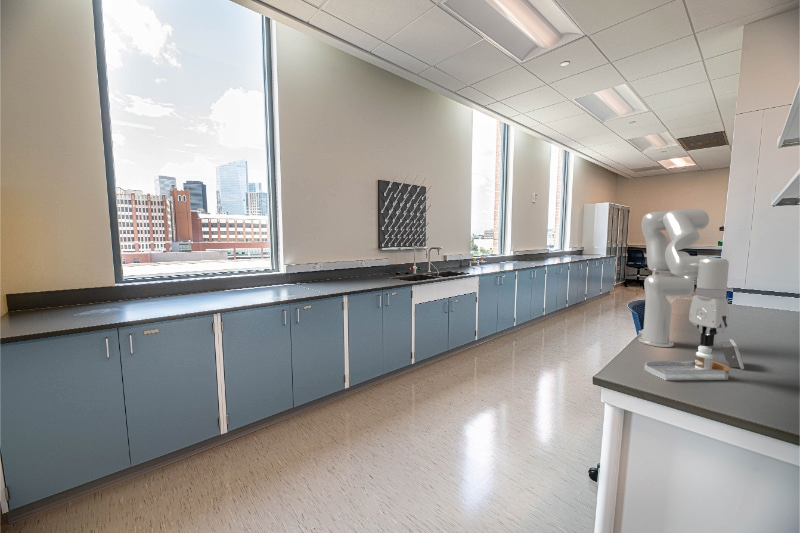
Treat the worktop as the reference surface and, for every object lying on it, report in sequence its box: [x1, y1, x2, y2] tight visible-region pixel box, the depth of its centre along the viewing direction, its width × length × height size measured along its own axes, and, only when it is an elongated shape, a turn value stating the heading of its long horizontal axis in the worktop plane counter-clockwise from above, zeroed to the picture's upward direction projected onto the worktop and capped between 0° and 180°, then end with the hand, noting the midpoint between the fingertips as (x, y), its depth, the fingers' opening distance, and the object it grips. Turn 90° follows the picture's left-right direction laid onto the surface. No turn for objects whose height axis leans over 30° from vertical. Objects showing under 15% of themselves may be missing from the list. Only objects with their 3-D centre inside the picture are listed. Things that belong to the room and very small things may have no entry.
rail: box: [644, 360, 730, 381], centre depth 114 cm, size 9×22×4 cm, turn 92°
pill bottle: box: [694, 345, 714, 370], centre depth 115 cm, size 4×4×8 cm
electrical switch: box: [720, 338, 745, 370], centre depth 123 cm, size 9×5×9 cm, turn 141°
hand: (706, 345), depth 114 cm, fingers closed
